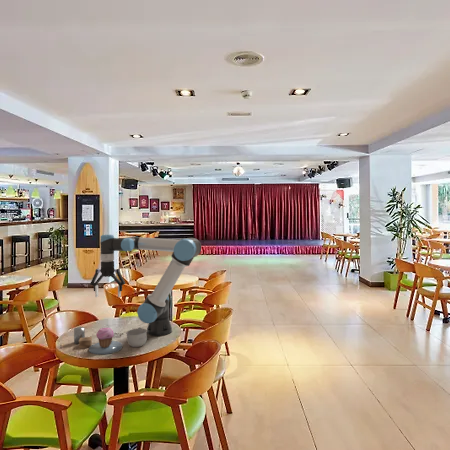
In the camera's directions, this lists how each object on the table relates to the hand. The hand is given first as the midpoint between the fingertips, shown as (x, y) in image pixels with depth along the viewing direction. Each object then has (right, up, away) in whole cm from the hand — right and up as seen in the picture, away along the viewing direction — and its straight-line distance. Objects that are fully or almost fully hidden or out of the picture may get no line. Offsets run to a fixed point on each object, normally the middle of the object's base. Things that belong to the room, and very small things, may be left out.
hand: (108, 296), depth 215 cm
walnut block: (-8, -24, -15) cm, 30 cm away
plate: (+5, -24, -19) cm, 31 cm away
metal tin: (-13, -24, -9) cm, 29 cm away
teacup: (+21, -24, -13) cm, 34 cm away
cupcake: (+5, -23, -19) cm, 30 cm away
